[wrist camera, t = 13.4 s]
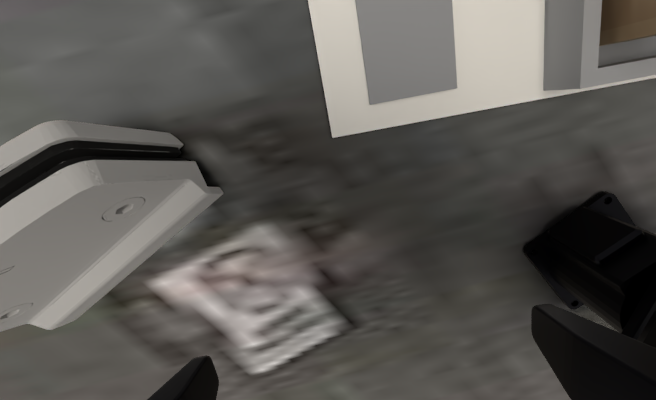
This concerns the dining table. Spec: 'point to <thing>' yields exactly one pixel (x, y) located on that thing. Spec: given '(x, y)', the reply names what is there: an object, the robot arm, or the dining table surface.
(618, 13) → the tan rectangular block
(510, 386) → the dining table surface
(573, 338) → the robot arm
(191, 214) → the white plastic device
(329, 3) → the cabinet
